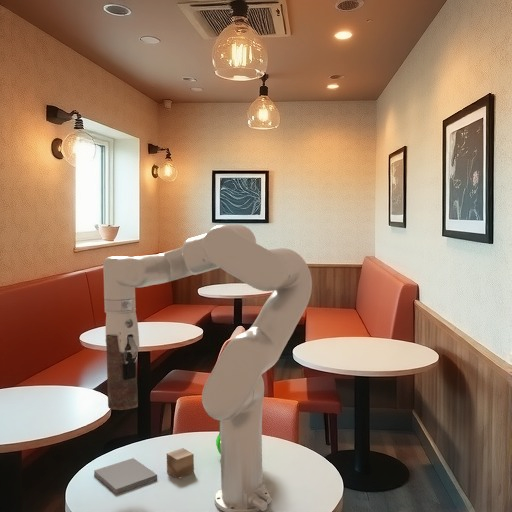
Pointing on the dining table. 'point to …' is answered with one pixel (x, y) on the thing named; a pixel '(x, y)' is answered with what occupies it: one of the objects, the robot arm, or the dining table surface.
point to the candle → (119, 378)
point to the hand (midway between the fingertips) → (122, 374)
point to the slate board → (125, 475)
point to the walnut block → (180, 463)
